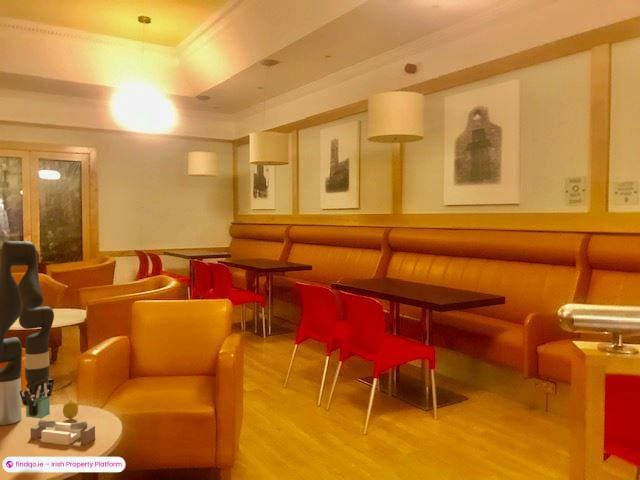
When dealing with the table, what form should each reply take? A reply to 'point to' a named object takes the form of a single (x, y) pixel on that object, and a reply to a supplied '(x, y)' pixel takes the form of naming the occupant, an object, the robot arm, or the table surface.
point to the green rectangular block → (40, 407)
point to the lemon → (70, 409)
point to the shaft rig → (63, 432)
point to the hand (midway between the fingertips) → (37, 413)
